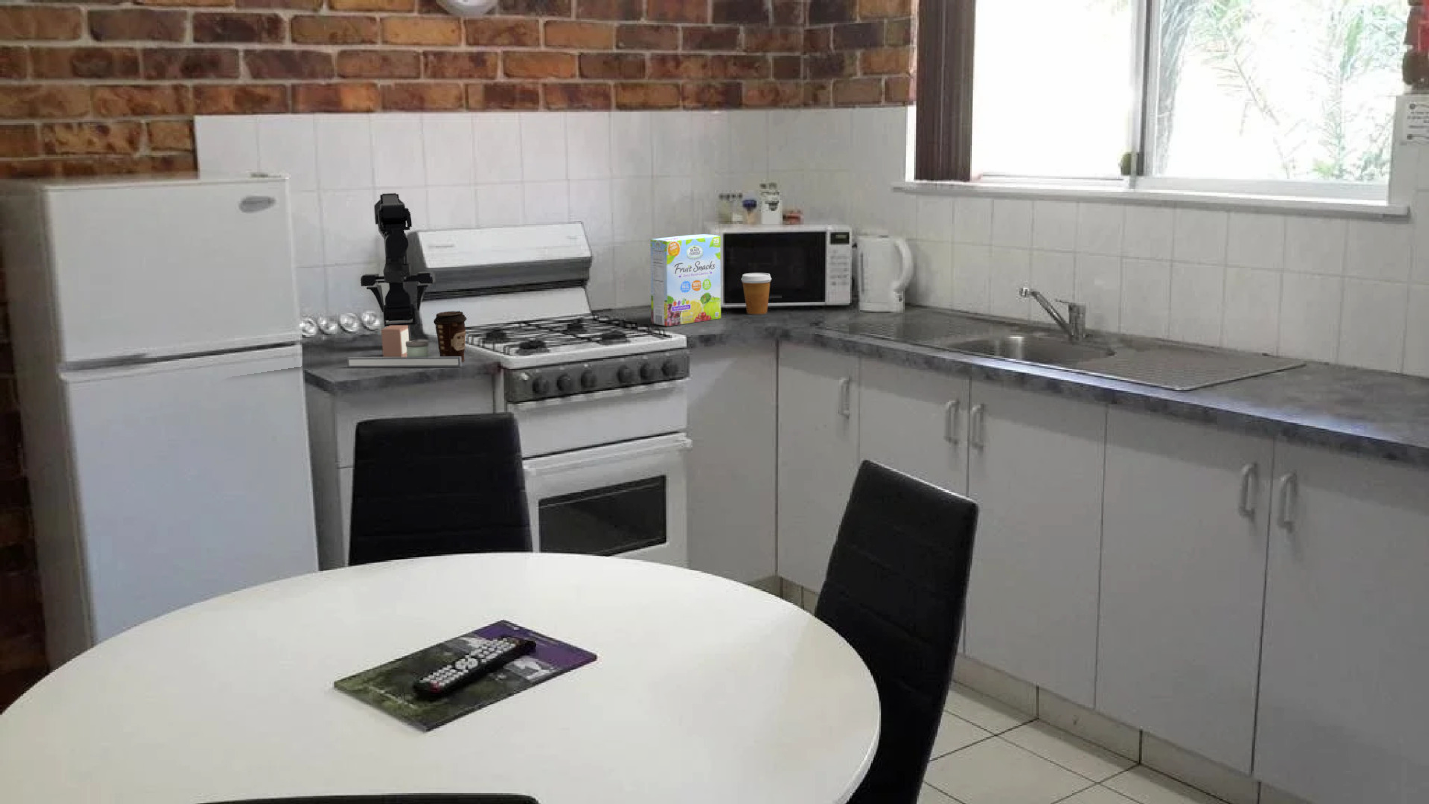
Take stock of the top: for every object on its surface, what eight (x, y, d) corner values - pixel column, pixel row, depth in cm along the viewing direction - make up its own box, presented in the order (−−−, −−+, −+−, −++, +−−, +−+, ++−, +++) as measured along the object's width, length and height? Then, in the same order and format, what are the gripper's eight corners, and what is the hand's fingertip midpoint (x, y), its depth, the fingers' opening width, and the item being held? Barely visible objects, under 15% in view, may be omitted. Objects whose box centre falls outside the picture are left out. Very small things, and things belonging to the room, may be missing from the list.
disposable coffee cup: (735, 313, 423) (734, 275, 420) (754, 309, 430) (754, 272, 427) (759, 316, 417) (758, 277, 414) (778, 312, 424) (777, 273, 421)
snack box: (668, 327, 400) (665, 240, 394) (650, 324, 406) (647, 238, 401) (723, 318, 414) (721, 234, 408) (704, 315, 420) (702, 232, 414)
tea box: (383, 359, 361) (381, 329, 359) (392, 354, 368) (390, 325, 366) (402, 359, 361) (399, 329, 359) (410, 354, 367) (408, 325, 366)
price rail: (349, 366, 352) (348, 357, 351) (461, 365, 349) (461, 356, 348) (347, 367, 350) (346, 358, 350) (460, 367, 347) (459, 357, 347)
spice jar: (411, 362, 356) (409, 339, 355) (432, 361, 356) (431, 339, 354) (404, 366, 351) (402, 343, 349) (426, 366, 350) (424, 343, 349)
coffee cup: (473, 358, 358) (470, 310, 355) (465, 364, 350) (461, 315, 347) (441, 359, 359) (438, 310, 356) (432, 365, 351) (428, 315, 348)
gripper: (354, 256, 347) (359, 316, 350) (427, 253, 348) (432, 313, 351) (362, 252, 358) (367, 311, 360) (433, 250, 359) (437, 308, 362)
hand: (400, 311), depth 358 cm, fingers open, 9 cm apart
